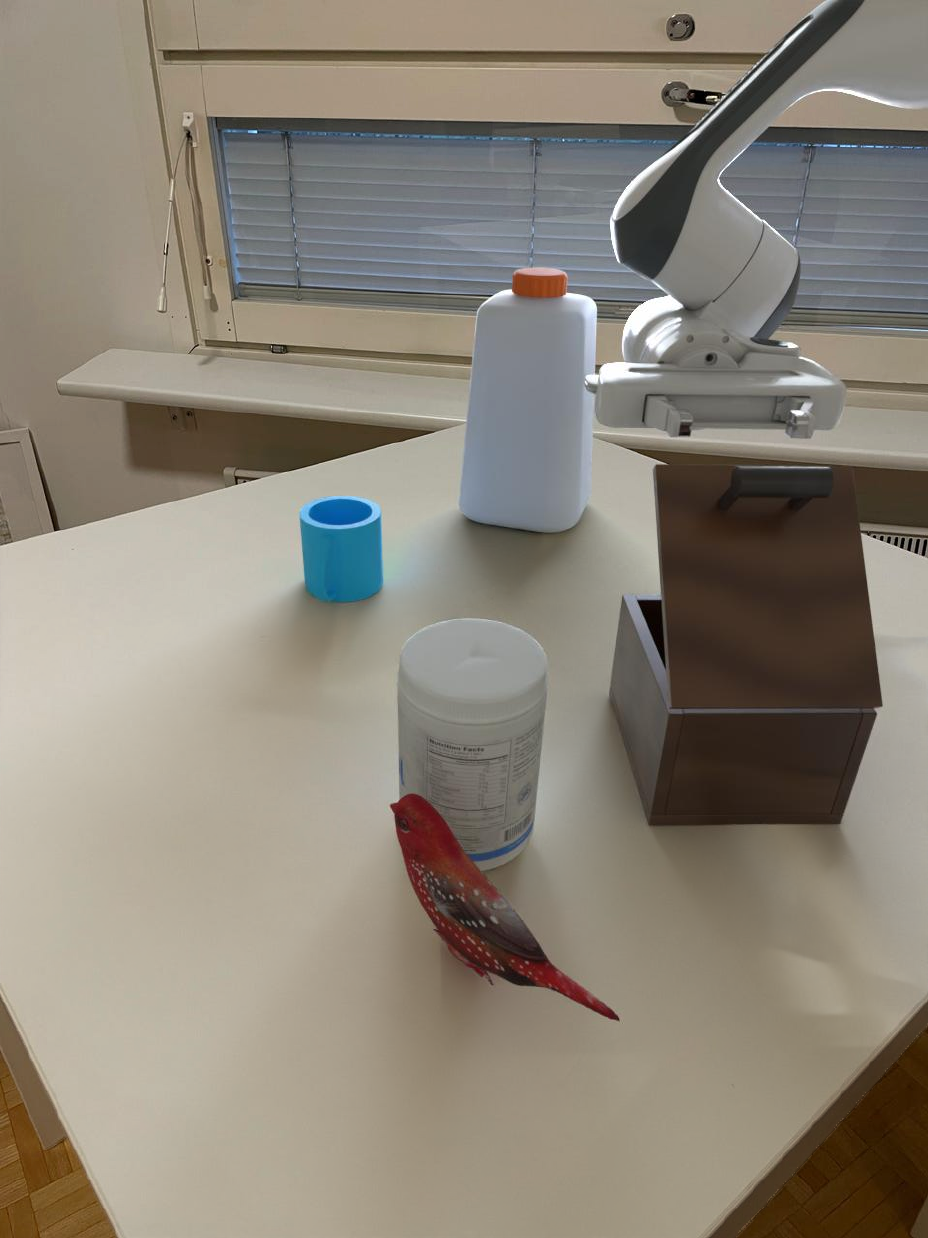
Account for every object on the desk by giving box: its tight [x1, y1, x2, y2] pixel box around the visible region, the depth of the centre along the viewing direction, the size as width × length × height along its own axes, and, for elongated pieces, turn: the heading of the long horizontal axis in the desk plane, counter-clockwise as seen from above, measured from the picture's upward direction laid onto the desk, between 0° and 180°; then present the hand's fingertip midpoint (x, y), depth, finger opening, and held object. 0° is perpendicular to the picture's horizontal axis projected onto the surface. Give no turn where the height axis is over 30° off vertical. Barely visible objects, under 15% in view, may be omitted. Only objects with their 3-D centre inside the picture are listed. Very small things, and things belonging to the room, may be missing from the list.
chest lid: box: [652, 463, 884, 709], centre depth 57 cm, size 17×14×6 cm
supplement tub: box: [396, 617, 549, 872], centre depth 58 cm, size 10×10×15 cm
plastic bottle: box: [458, 267, 598, 534], centre depth 102 cm, size 15×15×28 cm
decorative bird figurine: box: [389, 793, 621, 1022], centre depth 48 cm, size 3×18×10 cm, turn 43°
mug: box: [298, 495, 384, 603], centre depth 88 cm, size 12×8×8 cm
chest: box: [608, 593, 878, 826], centre depth 67 cm, size 16×14×10 cm
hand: (743, 428), depth 66 cm, fingers open, 8 cm apart
